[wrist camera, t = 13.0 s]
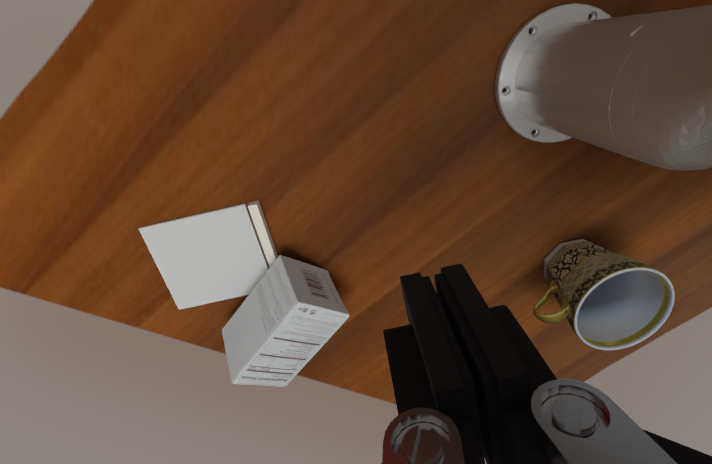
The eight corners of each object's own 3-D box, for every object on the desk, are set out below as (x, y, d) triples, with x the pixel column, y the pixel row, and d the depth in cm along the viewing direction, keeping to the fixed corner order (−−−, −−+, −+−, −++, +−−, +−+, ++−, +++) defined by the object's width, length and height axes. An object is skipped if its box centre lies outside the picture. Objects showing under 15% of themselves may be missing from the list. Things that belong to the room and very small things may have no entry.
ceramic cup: (613, 218, 46) (682, 259, 37) (607, 289, 50) (667, 341, 41) (503, 239, 46) (544, 285, 37) (506, 308, 51) (543, 364, 41)
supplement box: (329, 269, 47) (271, 337, 51) (278, 252, 42) (218, 329, 46) (353, 316, 42) (286, 388, 46) (298, 304, 37) (229, 385, 41)
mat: (245, 203, 43) (244, 204, 42) (275, 286, 47) (275, 288, 47) (140, 227, 43) (138, 228, 43) (180, 307, 48) (178, 309, 47)
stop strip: (258, 200, 43) (256, 204, 42) (287, 284, 47) (286, 289, 46) (249, 202, 43) (247, 206, 42) (279, 286, 47) (278, 291, 46)
